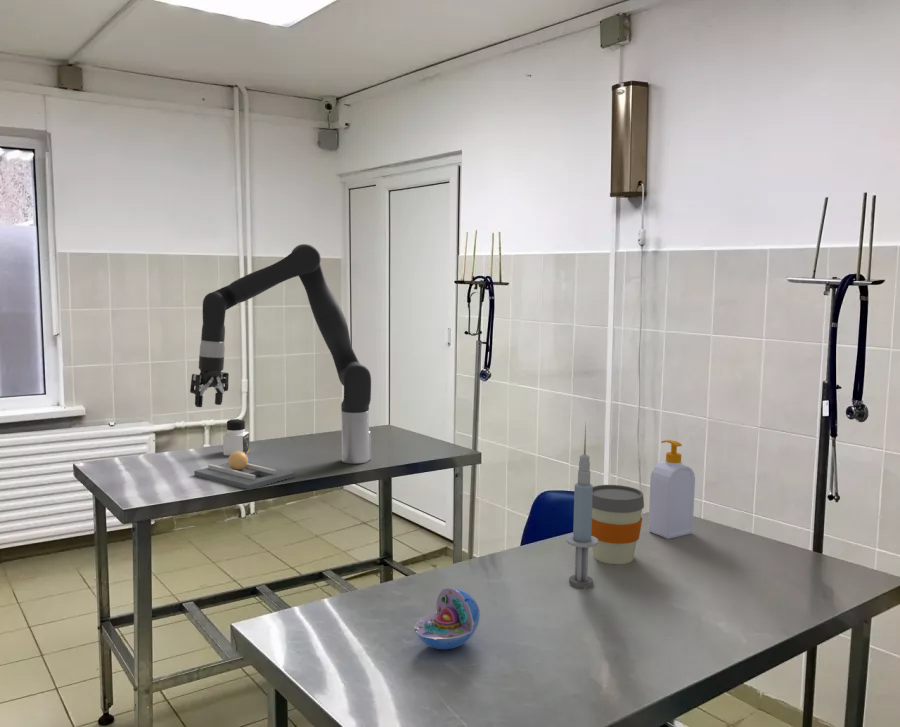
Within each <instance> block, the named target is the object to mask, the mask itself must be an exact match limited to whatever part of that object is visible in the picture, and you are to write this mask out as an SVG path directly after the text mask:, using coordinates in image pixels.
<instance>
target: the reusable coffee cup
mask: <svg viewBox="0 0 900 727" xmlns="http://www.w3.org/2000/svg"><path fill="white" fill-rule="evenodd" d="M644 501H645V499H644V492H643V491H642V490H640V489H638V488H635V487H632V486H626V485H622V484H621V485H619V484H600V485H599V484H598V485H593V496H592V529H591V536H594V537H596V538H597V539H598V544H597V545H596V546H594V547H591V548H592V557H593V558H594V559H595V560H597V561H598V562H601V563H605V564H609V565H625V564H629V563H631V562H633V561H634V559H635V558H634V557H635V552H636V548H637V547H636V546H637V542H638V540H639V539H640V534H641V531H642V530H641V528H642V524H643V523H642V522H643V517H642V513H643V509H644V508H645V502H644Z"/></svg>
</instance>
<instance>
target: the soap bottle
mask: <svg viewBox="0 0 900 727" xmlns="http://www.w3.org/2000/svg"><path fill="white" fill-rule="evenodd" d="M663 443H664V444H665V443H669V444H670V451H668V452H666V453H665V460H663V461H660V462H658V463H657V464H655V466H654V467H653V469H652V470H651V474H650V482H649V484H650V485H649V501H648V502H649V505H648V507H649V508H648V532H650V533H652V534H655V535H657V536H660V537H662V538H665V539H667V540H670V539H673V538H677V537H682V536H687V535H690V534H692V533H693V530H694V509H695V491H696V490H695V487H696V485H695V484H696V476H695V472H694V470H693V469H692V467H690V466H687V465H685V464H682V463H683V462H682V453H680V452H677V451H678V447H682V446H683V444H682V443H681V442H679V441H677V440H671V439H667V440H666V439H665V440H662V441H661V444H663Z"/></svg>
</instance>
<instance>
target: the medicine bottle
mask: <svg viewBox="0 0 900 727" xmlns="http://www.w3.org/2000/svg"><path fill="white" fill-rule="evenodd" d="M245 423H246V422H245V420H244V419H241V418H232V419H228V420H227V422H226V433H224V434H223V436H222V447H223V448H222V449H223V456H230V455H231V454H232V453H233V452H236V451H241V452H244V453H246V454H247V453H249V452H250V432H249V431H246V424H245Z"/></svg>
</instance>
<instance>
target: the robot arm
mask: <svg viewBox="0 0 900 727" xmlns="http://www.w3.org/2000/svg"><path fill="white" fill-rule="evenodd" d="M321 260H322V259H321V253H320V251H318V249H317V248H316V247H315V246H313V245H310V244H306V243H305V244H304V243H303V244H299V245H296V246H294V248H293V249H292V250H291V253H289V254H288V255H287V256H284V257H283V258H282V259H280V260H278V261H277V262H275V263H273V264H270V265H268V266H265V267H263V268H261V269H259V270H255V271H253V272H251V273H249V274H246V275H243V276H242V277H240V278H238V279H236V280H234V281H233V282H231V283H230V284H228V285H226V286H223V287H221V288H218V289H217V290H214V291H212V292H209V293H207V294H206V295H205V296H204V298H203V300H202V325H201V326H202V327H201V337H200V338H201V339H200V345H199V358H198V369H199V371H200V372H199V374H198V373H197V374H196V373H193V374H191V378H190V379H191V380H190V390H189V393H190V394H194V405H195V407H196V408H202V407H203V400H204V396H203V395H204V393H205V392H206V391H207V390H208V389H209V388H214V390H215V395H214V396H215V398H214V404H215V405H217V406H221V405H222V403H223V394H224V393H225V392H228V391H229V376H230V374H229V373H228V372H225V371H224V367H225V366H224V365H225V353H226V352H225V348H226V347H225V337H226V336H225V335H226V327H225V320H226V319H225V318H226V312H227V310H229V309H230V308H233V307H235V306H236V305H238V304H240V303H244V302H246V301H248V300H250V299H252V298H254V297H256V296H258V295H260V294H262V293H264V292H266V291H267V290H269V289H271V288H274V287H276V286H277V285H278V284H281V283H283V282H285V281H287V280H291V279H293V278H296V277H299V279H300V281H301V283H302V285H303V287H304V289H305V292H306V295H307V298H308V300H307V301H308V303H309V306H310V309H311V311H312V315H313V318H314V320H315V322H316V325H317V327H318V329H319V331H320V334H321V336H322V338H323V340H324V343H325V344H326V346H327V348H328V350H329V351H330V354H331V357H332V359H333V362H334V366H335V369H336V372H337V376H338V380H339V382H340V383H341V385H342V386H343V400H342V402H341V404H340V405H341V406H340V409H341V412H340V413H341V414H340V415H341V418H340V419H341V462H342V463H345V464H353V465H354V464H356V465H357V464H364V463H368V462H369V461H370V460H372V431H370V405H371V398H372V377H371V372H370V370H369V369H368V368H367V367H366V366H365V365H363V364H361V363H360V361H359V359H358V357H357V355H356V354H355V352H354V349H353V346H352V344H351V339H350V338H351V337H350V331H349V327H348V323H347V319H346V317H345V315H344V312H343V310H342V308H341V305H340V303H339V301H338V299H337V298H336V296H335V294H334V292H333V291H332V289H331V287H330V285H329V284H328V282H327V280H326V277H325V275H324V271H323V269H322V265H321ZM223 371H224V372H223Z"/></svg>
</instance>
